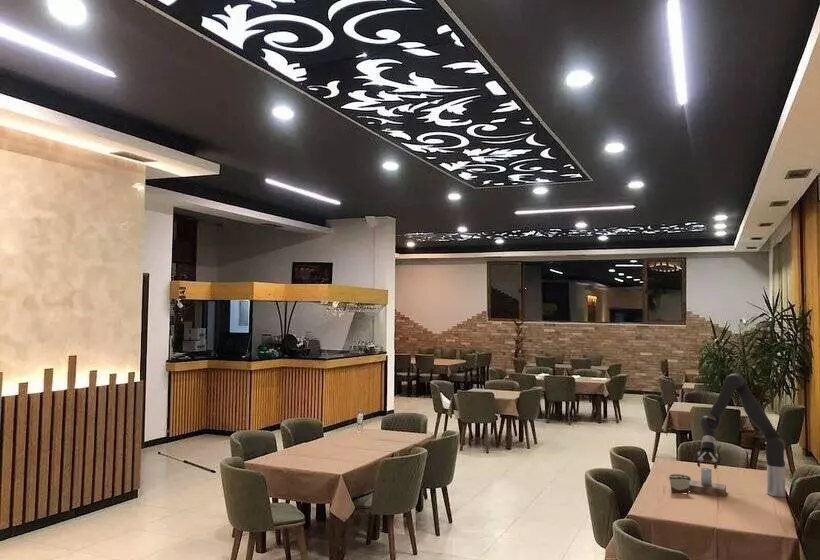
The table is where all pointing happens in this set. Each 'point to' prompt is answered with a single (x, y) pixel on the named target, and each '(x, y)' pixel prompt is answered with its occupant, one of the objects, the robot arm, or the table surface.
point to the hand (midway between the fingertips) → (706, 467)
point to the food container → (679, 483)
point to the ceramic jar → (706, 477)
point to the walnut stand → (707, 488)
